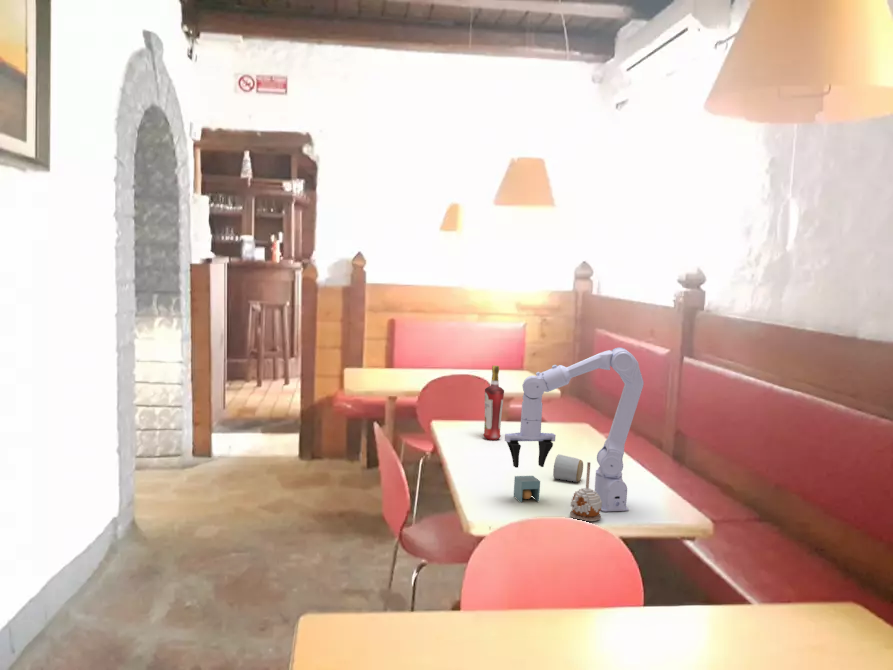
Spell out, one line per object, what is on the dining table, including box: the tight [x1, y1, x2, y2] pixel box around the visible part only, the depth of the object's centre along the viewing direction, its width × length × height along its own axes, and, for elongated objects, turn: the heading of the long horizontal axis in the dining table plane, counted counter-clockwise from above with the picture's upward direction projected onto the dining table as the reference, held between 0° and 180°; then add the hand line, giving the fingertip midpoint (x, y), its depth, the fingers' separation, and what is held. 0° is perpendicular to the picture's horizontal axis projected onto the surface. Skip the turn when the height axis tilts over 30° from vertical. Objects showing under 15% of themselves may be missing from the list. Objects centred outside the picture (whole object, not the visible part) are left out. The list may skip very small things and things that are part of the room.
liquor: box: [482, 365, 505, 441], centre depth 285 cm, size 7×7×28 cm
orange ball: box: [522, 489, 532, 500], centre depth 212 cm, size 3×3×3 cm
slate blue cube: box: [513, 475, 541, 503], centre depth 212 cm, size 6×6×6 cm
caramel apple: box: [569, 462, 602, 522], centre depth 198 cm, size 8×8×15 cm
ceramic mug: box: [552, 454, 584, 483], centre depth 235 cm, size 11×8×8 cm
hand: (528, 466), depth 211 cm, fingers open, 7 cm apart
